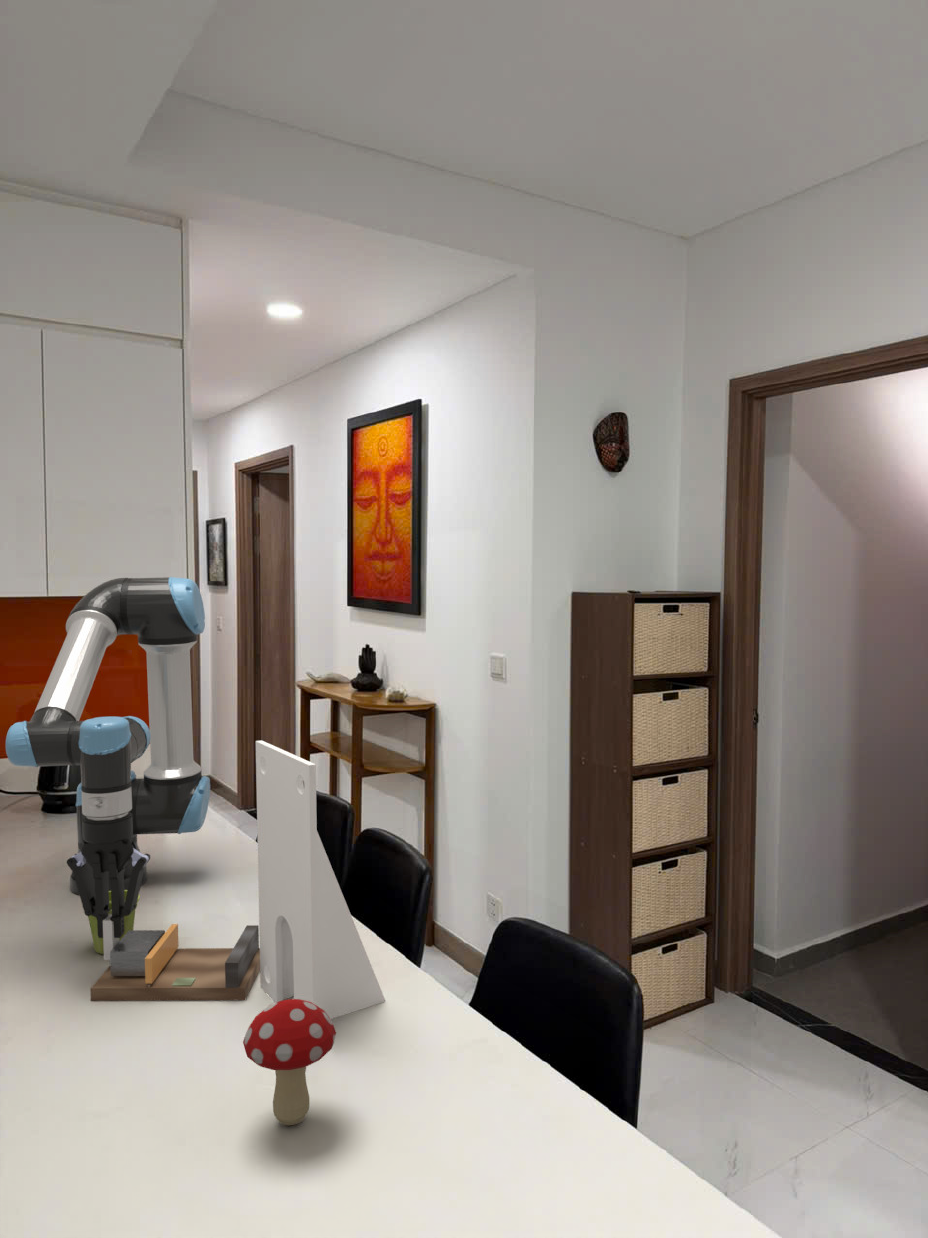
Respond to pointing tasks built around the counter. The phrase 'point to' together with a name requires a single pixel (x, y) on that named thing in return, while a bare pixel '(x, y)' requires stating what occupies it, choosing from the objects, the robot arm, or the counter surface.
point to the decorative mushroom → (289, 1051)
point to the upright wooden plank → (161, 953)
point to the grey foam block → (133, 952)
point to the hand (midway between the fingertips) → (111, 956)
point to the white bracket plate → (303, 897)
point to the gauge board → (191, 975)
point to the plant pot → (93, 921)
